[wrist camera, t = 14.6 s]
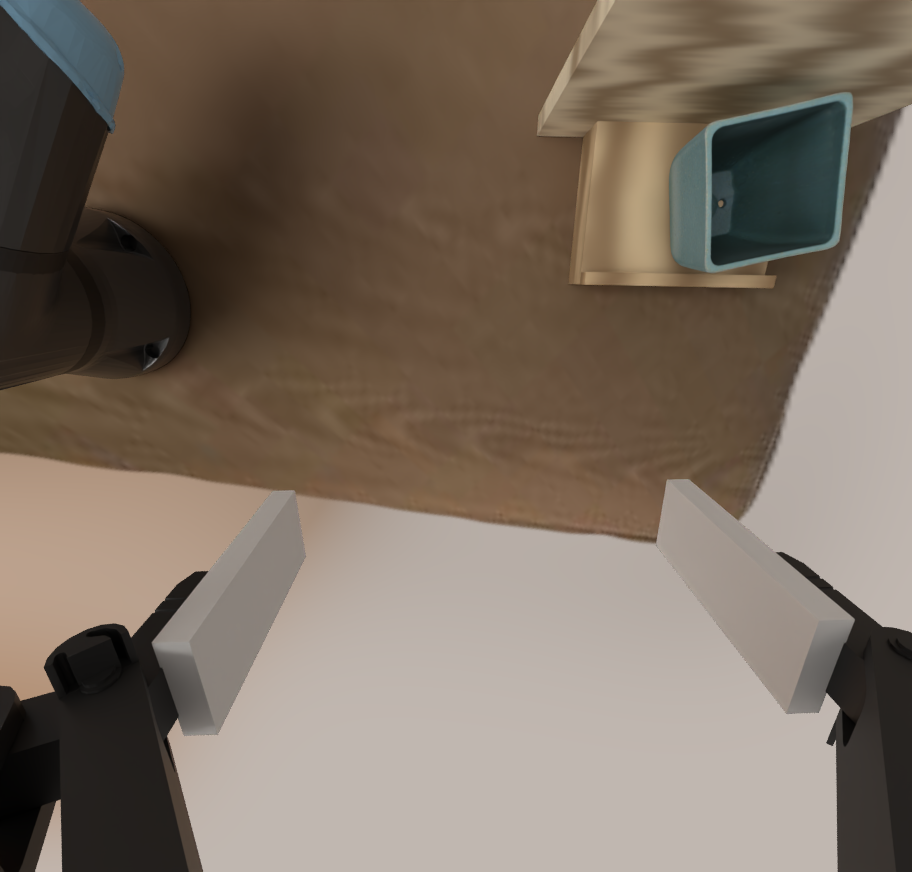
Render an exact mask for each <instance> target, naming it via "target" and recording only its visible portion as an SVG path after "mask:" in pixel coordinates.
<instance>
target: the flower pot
mask: <svg viewBox="0 0 912 872" xmlns="http://www.w3.org/2000/svg"><path fill="white" fill-rule="evenodd" d="M852 116H853V95H852V94H851V93H850V92H840V93H836V94H832V95H828V96H824V97H820V98H815V99H812V100H808V101H803V102H800V103H796V104H791V105H787V106H782V107H778V108H773V109H769V110H764V111H760V112H755V113H751V114H746V115H741V116H737V117H733V118H727V119H722V120H718V121H714V122H712V123H710V124H709V125H708V126H706V127H705V128H704V129H703V130H702V131H701V132H699V133H698V134H697V135H696V136H695V137H694V138H693V139H692V140H690V141H689V142H688V143H687V144H686V145H685V146H684V147H683V148H682V149H681V150H680V151H679V152H678V153H677V154H676V156H675V158H674V159H673V161H672V164H671V168H670V172H669V208H670V248H671V253H672V257H673V258H674V260H675V261H676V262H677V263H678V264H679V265H681V266H683V267H687V268H690V269H694V270H699V271H703V272H708V273H716V272H721V271H725V270H730V269H734V268H738V267H743V266H747V265H752V264H756V263H761V262H765V261H771V260H775V259H780V258H785V257H789V256H794V255H800V254H805V253H810V252H815V251H821V250H826V249H829V248H832V247H834V246H835V245H837V243H838V242H839V239H840V233H841V223H842V211H843V201H844V192H845V179H846V170H847V161H848V151H849V144H850V131H851V124H852ZM720 200H722V201H723V206H722V207H719V205H718V202H719V201H720Z"/></svg>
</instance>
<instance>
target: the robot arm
mask: <svg viewBox="0 0 912 872" xmlns="http://www.w3.org/2000/svg"><path fill="white" fill-rule="evenodd" d="M123 78H124V63H123V58H122V56H121V53H120V51H119V48H118V46H117V44H116V42H115V41H114V39H113V38H112V36H111V35H110V33H109V32H108V31H107V29H106V28H105V27H104V26H103V25H102V23H101V22H100V21H99V20H98V19H97V18H96V17H95V16H94V15H93V14H92V13H91V12H90V11H89V10H88V9H87V8H86V7H85V6H84V5H83V4H82V3H81V2H80V1H79V0H0V390H3V389H7V388H11V387H15V386H19V385H22V384H26V383H30V382H34V381H38V380H42V379H45V378H49V377H53V376H56V375H61V374H74V375H82V376H91V377H99V378H109V379H120V378H129V377H134V376H138V375H141V374H145V373H148V372H151V371H154V370H156V369H159V368H160V367H162V366H164V365H165V364H167V363H168V362H169V361H171V360H172V359H173V358H174V357H175V356H176V355H177V353H178V352H179V351H180V349H181V348H182V346H183V344H184V342H185V340H186V337H187V334H188V330H189V326H190V301H189V296H188V291H187V288H186V285H185V282H184V279H183V277H182V275H181V273H180V271H179V269H178V267H177V265H176V264H175V262H174V260H173V259H172V257H171V256H170V255H169V253H168V252H167V251H166V250H165V248H164V247H163V246H162V245H161V244H160V243H159V242H158V241H157V240H156V239H155V238H154V237H153V236H152V235H151V234H149V233H148V232H147V231H146V230H144V229H143V228H141V227H140V226H139V225H137V224H135V223H134V222H132V221H130V220H128V219H126V218H124V217H122V216H119V215H116V214H114V213H110V212H106V211H102V210H97V209H92V208H87V207H84V206H85V203H86V199H87V196H88V193H89V190H90V187H91V184H92V181H93V178H94V175H95V172H96V169H97V166H98V163H99V160H100V157H101V153H102V150H103V147H104V144H105V141H106V138H107V135H108V132H109V133H111V134H113V132H114V130H115V122H114V119H113V116H114V113H115V109H116V105H117V101H118V98H119V94H120V90H121V86H122V82H123ZM656 546H657V548H658V549H659V550H660V552H661V553H662V554H663V555H664V557H665V558H666V559H667V560H668V562H669V563H670V564H671V566H672V567H673V568H674V569H675V571H676V572H677V573H678V575H679V576H680V577H681V579H682V580H683V581H684V582H685V584H686V585H687V586H688V588H689V589H690V590H691V591H692V593H693V594H694V595H695V597H696V598H697V599H698V600H699V602H700V603H701V604H702V606H703V607H704V608H705V609H706V611H707V612H708V613H709V615H710V616H711V617H712V618H713V620H714V621H715V622H716V624H717V625H718V626H719V628H720V629H721V630H722V631H723V633H724V634H725V635H726V636H727V638H728V639H729V640H730V642H731V643H732V644H733V645H734V647H735V648H736V649H737V650H738V652H739V653H740V655H741V656H742V657H743V658H744V660H745V661H746V662H747V663H748V665H749V666H750V667H751V669H752V670H753V671H754V672H755V674H756V675H757V676H758V678H759V679H760V680H761V682H762V683H763V684H764V685H765V687H766V688H767V689H768V691H769V692H770V693H771V694H772V696H773V697H774V698H775V700H776V701H777V702H778V704H779V705H780V706H781V707H782V709H783V710H784V711H785V713H786V714H792V713H819V711H820V708H821V706H822V703H823V701H824V698H825V696H826V693H828V695H829V696H830V697H831V698H832V699H833V700H834V701H835V702H836V703H837V705H839V707H840V710H839V713H838V715H837V718H836V720H835V723H834V725H833V728H832V730H831V732H830V735H829V737H828V740H827V742H826V743H827V744H829V745H831V746H833V744H834V742H835V740H836V766H837V767H836V773H837V845H838V846H837V848H838V849H837V851H838V853H837V854H838V872H912V633H911V632H908V631H904V630H900V629H897V628H891V627H882V626H881V625H879V624H878V623H877V622H876V621H874V620H873V619H872V618H871V617H870V616H868V615H867V614H866V613H865V612H863V611H862V610H861V609H860V608H858V607H857V606H856V605H855V604H853V603H852V602H851V601H850V600H848V599H847V598H846V597H845V596H843V595H842V594H841V593H840V592H839V591H837V590H834V589H833V587H832V586H831V585H830V584H829V583H827V582H826V581H825V580H824V579H820V577H819V575H817V574H816V573H815V572H814V571H812V570H811V569H810V568H809V567H807V566H806V565H805V564H804V563H802V562H800V561H798V560H796V559H794V558H792V557H790V556H789V555H787V554H785V553H783V552H774V551H773V550H772V549H771V548H770V547H768V546H767V545H766V544H765V543H764V542H762V541H761V540H760V539H759V538H758V537H756V536H755V535H754V534H753V533H752V532H750V531H749V530H748V529H747V528H745V526H744V525H742V524H741V523H740V522H739V521H738V520H736V519H735V518H734V517H733V516H732V515H730V514H729V513H728V512H727V511H726V510H725V509H723V508H722V507H721V506H720V505H719V504H717V503H716V502H715V501H714V500H713V499H711V498H710V497H709V496H708V495H707V494H706V493H704V492H703V491H702V490H701V489H700V488H698V487H697V486H696V485H695V484H694V483H692V482H691V481H690V480H689V479H676V480H667V483H666V489H665V495H664V501H663V507H662V513H661V519H660V524H659V530H658V536H657V542H656ZM305 557H306V554H305V548H304V542H303V537H302V530H301V525H300V519H299V513H298V507H297V501H296V495H295V490H290V491H272V492H271V494H270V495H269V496H268V498H267V499H266V500H265V501H264V503H263V504H262V505H261V506H260V508H259V509H258V510H257V511H256V513H255V514H254V515H253V516H252V518H251V519H250V520H249V521H248V523H247V524H246V525H245V527H244V528H243V529H242V530H241V531H240V533H239V534H238V535H237V536H236V538H235V539H234V540H233V542H232V543H231V544H230V545H229V547H228V548H227V549H226V550H225V551H224V553H223V554H222V555H221V557H220V558H219V559H218V560H217V561H216V563H215V564H214V565H213V567H212V568H211V569H210V570H209V571H201V572H194V573H193V574H191V575H190V576H189V577H187V578H186V579H184V580H183V581H181V582H180V583H179V584H177V585H176V587H175V588H174V589H173V590H172V591H171V592H170V594H169V595H168V596H167V597H166V599H165V601H163V602H162V603H161V604H160V605H159V606H158V607H157V609H156V610H155V613H152V614H151V616H150V617H149V618H148V619H147V620H146V621H145V623H144V624H143V625H142V626H141V627H140V628H139V629H138V631H137V632H136V633H135V634H134V635H133V636H132V637H130V635H129V632H128V630H127V629H126V628H125V627H124V626H123V625H119V624H105V625H100V626H96V627H93V628H90V629H87V630H85V631H83V632H81V633H79V634H77V635H75V636H73V637H71V638H69V639H68V640H67V641H65V642H64V643H62V644H61V645H60V646H58V647H57V648H56V649H55V650H54V651H53V652H52V653H51V655H50V656H49V657H48V658H47V660H46V663H45V666H44V669H45V671H46V673H47V676H48V677H49V680H50V682H51V684H52V686H53V688H54V690H55V692H52V693H48V694H44V695H41V696H37V697H34V698H30V699H26V700H22V701H20V699H19V697H18V696H17V694H16V692H15V691H14V690H13V689H12V688H11V687H9V686H0V872H35V869H36V866H37V863H38V860H39V856H40V853H41V850H42V846H43V843H44V839H45V836H46V833H47V829H48V826H49V823H50V820H51V816H52V813H53V810H54V806H55V803H56V801H57V800H60V799H61V832H62V833H61V834H62V835H61V836H62V872H203V869H202V865H201V862H200V858H199V854H198V850H197V846H196V842H195V839H194V835H193V831H192V827H191V823H190V819H189V816H188V811H187V808H186V804H185V800H184V796H183V792H182V789H181V784H180V781H179V777H178V773H177V769H176V766H175V762H174V758H173V754H172V750H171V746H170V743H169V740H168V738H167V735H168V733H169V731H170V730H171V728H172V726H173V725H174V723H175V721H176V720H177V718H178V720H179V723H180V726H181V729H182V732H183V735H184V736H191V735H218V733H219V731H220V729H221V727H222V725H223V723H224V721H225V719H226V717H227V715H228V713H229V711H230V709H231V707H232V705H233V703H234V701H235V699H236V697H237V695H238V693H239V691H240V689H241V687H242V684H243V683H244V681H245V678H246V677H247V674H248V672H249V670H250V668H251V666H252V664H253V662H254V660H255V658H256V656H257V654H258V652H259V650H260V648H261V646H262V644H263V642H264V640H265V638H266V636H267V634H268V632H269V630H270V628H271V626H272V624H273V622H274V620H275V618H276V616H277V614H278V612H279V610H280V608H281V606H282V604H283V602H284V600H285V598H286V595H287V594H288V591H289V589H290V588H291V586H292V583H293V581H294V579H295V577H296V575H297V573H298V571H299V569H300V567H301V565H302V563H303V561H304V559H305Z"/></svg>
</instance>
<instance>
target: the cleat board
mask: <svg viewBox="0 0 912 872" xmlns="http://www.w3.org/2000/svg"><path fill="white" fill-rule="evenodd" d="M840 92H850V93H851V94H852V95H853V116H852V124H851V127H854V126H856V125H859V124H861V123H864V122H867V121H869V120H872V119H874V118H877V117H880V116H882V115H885V114H887V113H890V112H893V111H895V110H898V109H900V108H903V107H906V106H908V105H911V104H912V0H597V2H596V4H595V6H594V8H593V10H592V12H591V14H590V16H589V18H588V20H587V22H586V24H585V26H584V28H583V30H582V32H581V33H580V35H579V37H578V39H577V41H576V43H575V45H574V47H573V49H572V51H571V53H570V55H569V57H568V59H567V61H566V63H565V65H564V67H563V69H562V70H561V72H560V74H559V76H558V78H557V80H556V82H555V84H554V86H553V88H552V90H551V92H550V94H549V96H548V98H547V100H546V102H545V104H544V106H543V108H542V109H541V111H540V113H539V115H538V129H537V136H557V137H583V143H582V153H581V163H580V173H579V183H578V193H577V203H576V213H575V222H574V232H573V242H572V252H571V262H570V272H569V282H568V284H583V285H633V286H683V287H733V288H774V284H775V280H776V276H769V275H765V272H766V268H767V264H768V261H765V262H761V263H756V264H752V265H747V266H743V267H738V268H734V269H730V270H725V271H721V272H716V273H708V272H703V271H699V270H694V269H690V268H687V267H683V266H681V265H679V264H678V263H677V262H676V261H675V260H674V258H673V257H672V253H671V248H670V208H669V172H670V168H671V164H672V161H673V159H674V158H675V156H676V154H677V153H678V152H679V151H680V150H681V149H682V148H683V147H684V146H685V145H686V144H687V143H688V142H689V141H690V140H692V139H693V138H694V137H695V136H696V135H697V134H698V133H699V132H701V131H702V130H703V129H704V128H705V127H706V126H708V125H709V124H710V123H712V122H714V121H718V120H722V119H727V118H733V117H737V116H741V115H746V114H751V113H755V112H760V111H764V110H769V109H773V108H778V107H782V106H787V105H791V104H796V103H800V102H803V101H808V100H812V99H815V98H820V97H824V96H828V95H832V94H836V93H840ZM718 205H719V207H722V206H723V201H722V200H720V201H719V202H718Z"/></svg>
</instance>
